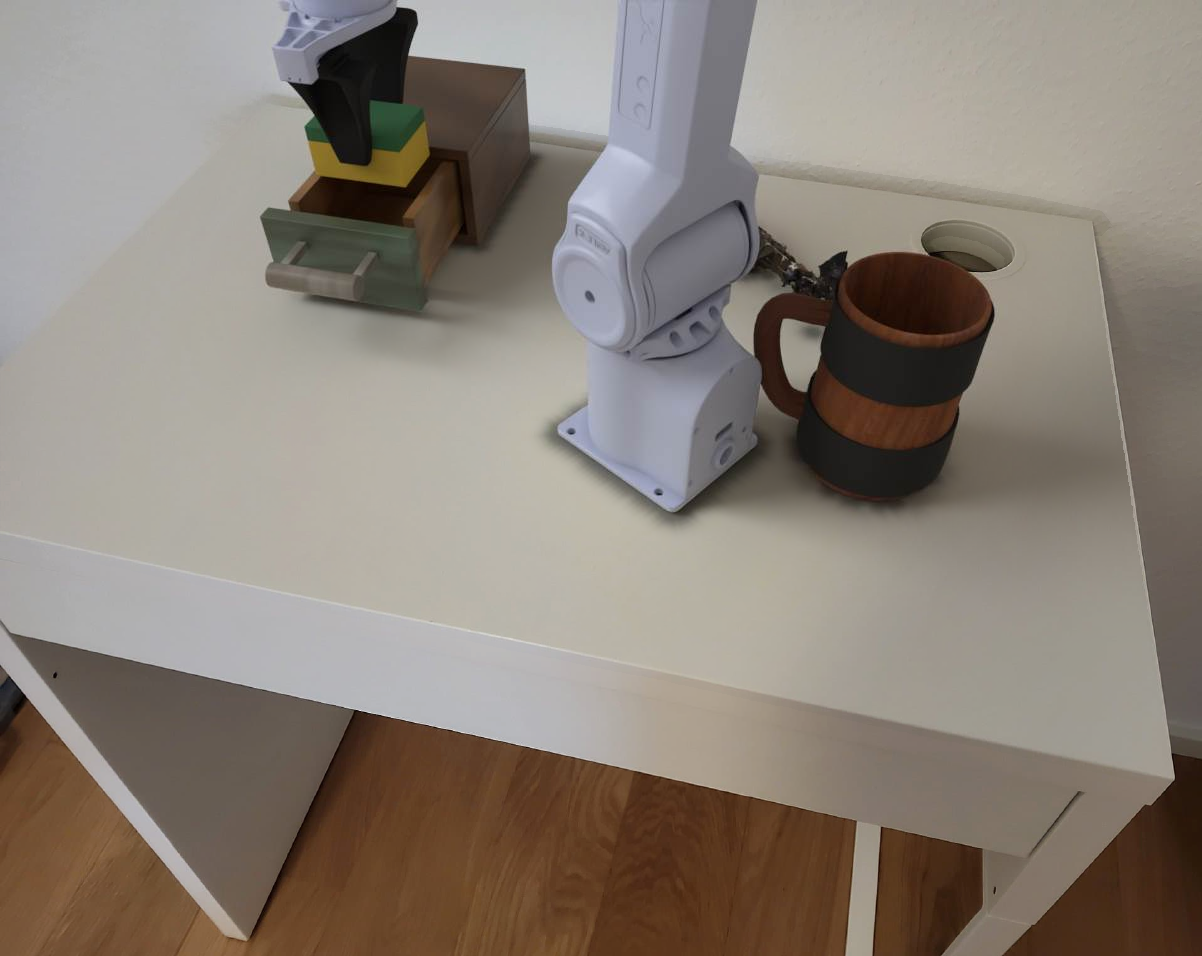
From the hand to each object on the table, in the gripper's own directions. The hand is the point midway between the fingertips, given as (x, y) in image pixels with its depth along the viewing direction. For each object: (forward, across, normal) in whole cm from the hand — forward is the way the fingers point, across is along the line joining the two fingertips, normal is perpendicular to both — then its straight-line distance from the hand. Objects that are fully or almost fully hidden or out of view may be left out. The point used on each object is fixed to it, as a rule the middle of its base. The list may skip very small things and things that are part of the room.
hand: (371, 143), depth 62 cm
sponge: (+2, 0, 0) cm, 2 cm away
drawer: (+8, +3, 0) cm, 8 cm away
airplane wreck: (+9, -4, +26) cm, 28 cm away
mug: (+9, +12, +34) cm, 37 cm away
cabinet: (+9, -10, 0) cm, 13 cm away
